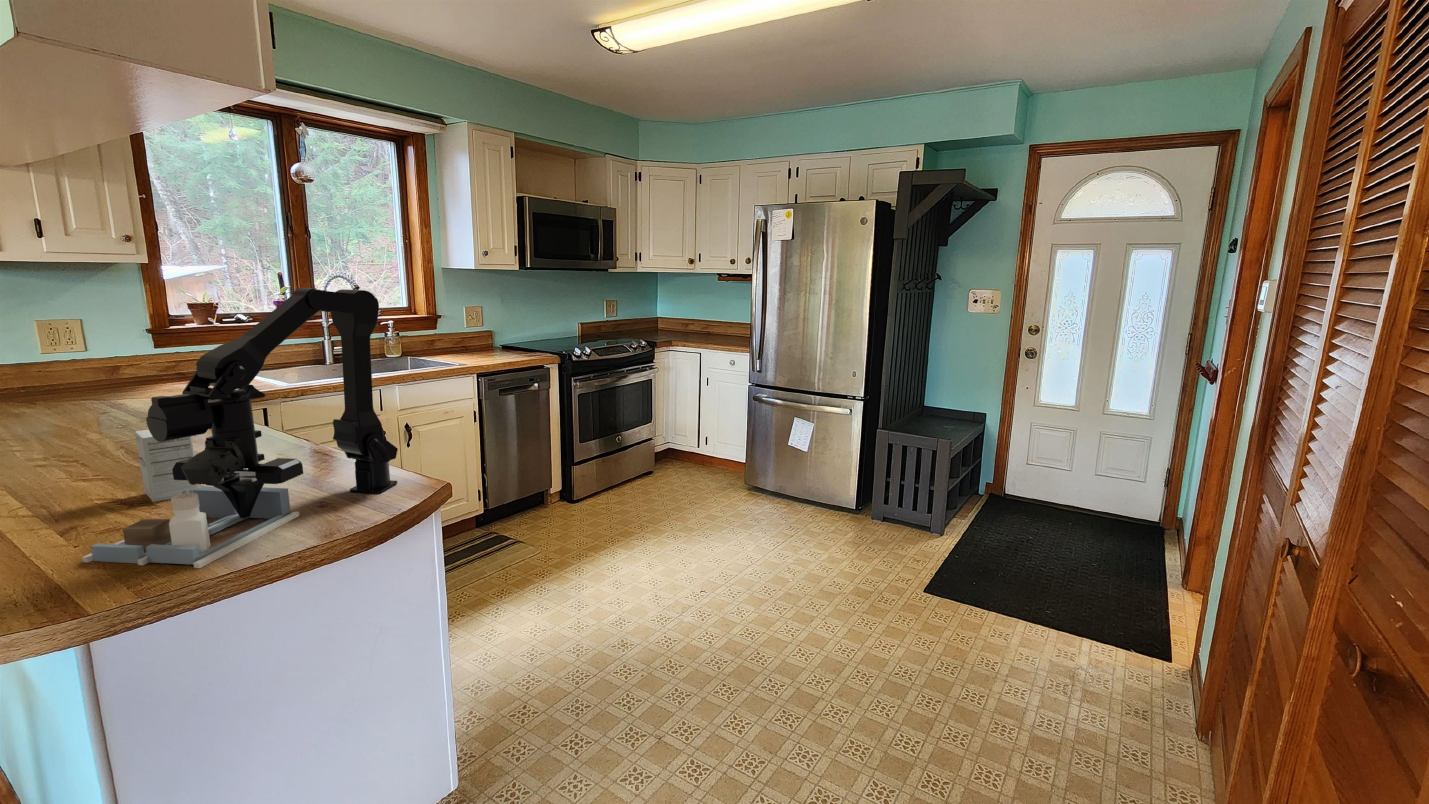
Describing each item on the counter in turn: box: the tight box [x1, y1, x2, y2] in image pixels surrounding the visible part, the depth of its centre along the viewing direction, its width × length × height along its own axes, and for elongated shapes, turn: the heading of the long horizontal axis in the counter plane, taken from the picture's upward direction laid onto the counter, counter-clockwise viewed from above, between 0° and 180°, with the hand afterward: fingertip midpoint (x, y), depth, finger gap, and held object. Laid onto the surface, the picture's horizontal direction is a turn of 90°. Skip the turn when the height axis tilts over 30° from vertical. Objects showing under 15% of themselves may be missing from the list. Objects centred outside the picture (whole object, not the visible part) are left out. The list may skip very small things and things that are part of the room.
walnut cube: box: [122, 518, 171, 553], centre depth 101 cm, size 4×4×4 cm
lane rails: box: [81, 511, 300, 569], centre depth 105 cm, size 21×18×1 cm
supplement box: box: [134, 429, 200, 503], centre depth 124 cm, size 7×7×13 cm
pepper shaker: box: [169, 493, 211, 554], centre depth 98 cm, size 4×4×10 cm
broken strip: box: [90, 485, 238, 564], centre depth 105 cm, size 20×7×5 cm, turn 176°
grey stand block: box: [146, 486, 292, 566], centre depth 105 cm, size 20×7×5 cm, turn 176°
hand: (245, 517), depth 109 cm, fingers closed
